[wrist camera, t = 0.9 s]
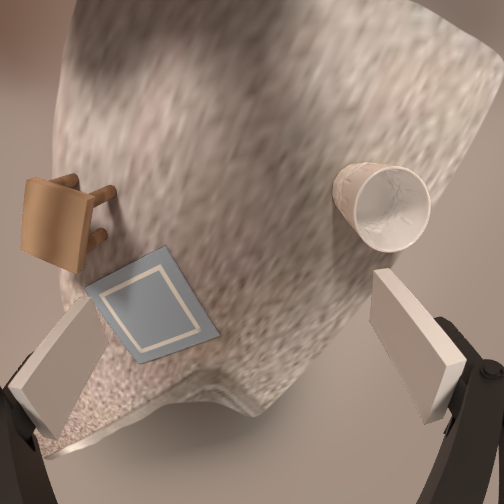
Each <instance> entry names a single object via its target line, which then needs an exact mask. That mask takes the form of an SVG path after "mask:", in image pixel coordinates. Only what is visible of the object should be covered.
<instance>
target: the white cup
mask: <svg viewBox="0 0 504 504" xmlns="http://www.w3.org/2000/svg"><path fill="white" fill-rule="evenodd" d="M332 196H333V199H334V202H335V205H336V207H337V208H338V209H339V210H340V212H341V213H342V215H343V217H344V218H345V219H346V220H347V222H348V223H349V224H350V226H351V227H352V228H353V229H354V230H355V231H356V233H357V234H358V235H359V236H360V237H361V238H362V240H363V241H364V242H365V243H366V244H367V245H368V246H370V247H371V248H373V249H375V250H377V251H381V252H387V253H391V252H398V251H401V250H404V249H406V248H407V247H409V246H411V245H412V244H413V243H414V242H415V241H417V239H418V238H419V237H420V236H421V235H422V233H423V232H424V230H425V228H426V226H427V223H428V220H429V217H430V210H431V203H430V196H429V192H428V190H427V187H426V185H425V184H424V182H423V181H422V179H421V178H420V177H419V176H418V175H417V174H416V173H414V172H413V171H411V170H409V169H407V168H404V167H399V166H393V165H386V164H379V163H364V162H361V163H353V164H349V165H348V166H346V167H345V168H343V169H342V170H340V172H339V173H338V175H337V177H336V178H335V180H334V182H333V191H332Z"/></svg>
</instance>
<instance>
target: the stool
mask: <svg viewBox="0 0 504 504" xmlns="http://www.w3.org/2000/svg"><path fill="white" fill-rule="evenodd" d="M78 181H79V179H78V176H77V175H76V174H70V175H66V176H63V177H59V178H56V179H53V180H50V181H46V180H43V179H40V178H37V177H35V178H31V179H28V180H26V187H25V195H24V205H23V215H22V229H21V249H20V250H22V251H24V252H26V253H28V254H31V255H33V256H35V257H37V258H40V259H42V260H44V261H46V262H49V263H51V264H53V265H56V266H58V267H60V268H63V269H65V270H68V271H70V272H72V273H75V274H78V273H79V272H80V271H81V270H82V269H83V268H84V265H85V257H86V255H87V254H88V253H89V252H91V251H92V250H93V249H94V248H95V247H97V246H98V245H99V244H100V243H102V242H103V241H104V240H105V239H106V238H107V236H108V234H107V231H106V230H105V229H104V228H99V229H98V230H96V231H95V232H93V233H92V234H91V235H89V229H90V223H91V218H92V212H93V208H94V207H96V206H98V205H100V204H102V203H104V202H106V201H108V200H110V199H112V198H113V197H115V195H116V188H115V187H114V186H112V185H109V186H106V187H104V188H101V189H99V190H97V191H94V192H92V193H89V194H86V193H83V192H80V191H77V190H74V189H71V187H73V186H76V185H77V184H78Z"/></svg>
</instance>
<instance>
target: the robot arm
mask: <svg viewBox="0 0 504 504" xmlns="http://www.w3.org/2000/svg"><path fill="white" fill-rule="evenodd" d="M369 322H370V323H371V325H372V327H373V328H374V330H375V332H376V334H377V336H378V338H379V339H380V341H381V343H382V345H383V347H384V348H385V350H386V352H387V354H388V356H389V357H390V359H391V361H392V363H393V365H394V367H395V368H396V370H397V372H398V374H399V376H400V378H401V380H402V382H403V383H404V385H405V388H406V389H407V391H408V393H409V395H410V397H411V399H412V401H413V403H414V405H415V407H416V409H417V411H418V413H419V415H420V417H421V419H422V421H423V423H424V425H425V424H428V423H431V422H434V421H437V420H440V419H443V417H444V415H445V413H446V410H447V408H449V410H450V411H451V413H452V417H451V419H450V421H449V423H448V425H447V427H446V429H445V431H444V434H445V436H444V439H443V442H442V445H441V447H440V450H439V453H438V455H437V458H436V460H435V463H434V466H433V468H432V470H431V473H430V475H429V477H428V480H427V482H426V484H425V487H424V488H423V491H422V493H421V495H420V497H419V499H418V501H417V503H416V504H483V501H484V498H485V495H486V491H487V488H488V484H489V481H490V477H491V473H492V469H493V465H494V461H495V457H496V452H497V447H498V446H499V502H498V504H504V367H503V366H502V365H501V364H500V363H498V362H496V361H494V360H489V359H484V360H483V359H482V358H481V356H480V355H479V354H478V353H477V352H476V350H475V349H474V348H473V347H472V346H471V345H470V343H469V342H468V341H467V340H466V339H465V338H464V336H463V335H462V334H461V333H460V332H458V329H457V328H456V327H455V326H454V325H453V324H452V322H450V321H448V320H446V319H445V318H443V317H436V318H433V317H432V316H431V315H430V314H429V313H428V312H427V310H426V309H425V308H424V307H423V306H422V305H421V304H420V302H419V301H418V300H417V299H416V298H415V297H414V296H413V294H412V293H411V292H410V291H409V290H408V289H407V288H406V287H405V285H404V284H403V283H402V282H401V281H400V280H399V279H398V278H397V277H396V276H395V274H394V273H393V272H392V271H391V270H390V269H389V268H385V269H377V270H373V284H372V298H371V310H370V321H369ZM108 344H109V342H108V340H107V337H106V335H105V332H104V329H103V327H102V324H101V321H100V319H99V316H98V313H97V311H96V308H95V305H94V302H93V299H92V297H79V298H78V299H77V301H76V302H75V303H74V304H73V305H72V306H71V307H70V309H69V310H68V311H67V312H66V313H65V314H64V316H63V317H62V318H61V319H60V320H59V322H58V323H57V324H56V325H55V326H54V328H53V329H52V330H51V331H50V332H49V334H48V335H47V336H46V337H45V338H44V340H43V341H42V342H41V343H40V345H39V346H38V347H37V349H36V350H35V351H33V352H32V353H31V354H30V355H28V356H27V358H26V359H25V360H24V362H23V363H22V365H20V367H19V368H18V371H16V372H15V373H14V375H13V376H12V377H11V379H10V380H9V381H8V383H7V384H6V386H5V387H4V388H3V390H2V388H1V387H0V504H58V503H57V500H56V498H55V495H54V492H53V489H52V487H51V484H50V481H49V478H48V475H47V472H46V469H45V465H44V462H43V459H42V455H41V452H40V448H39V444H38V440H37V438H36V436H35V435H34V433H33V432H34V430H35V428H37V429H38V430H39V432H40V433H41V434H42V436H43V437H46V438H50V439H54V440H58V438H59V436H60V434H61V432H62V430H63V428H64V426H65V424H66V422H67V420H68V418H69V416H70V414H71V412H72V410H73V408H74V406H75V404H76V402H77V400H78V398H79V396H80V394H81V393H82V391H83V389H84V387H85V385H86V383H87V381H88V379H89V378H90V376H91V374H92V372H93V370H94V368H95V367H96V365H97V363H98V361H99V359H100V358H101V356H102V354H103V352H104V351H105V349H106V347H107V345H108Z"/></svg>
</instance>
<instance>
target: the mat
mask: <svg viewBox="0 0 504 504" xmlns="http://www.w3.org/2000/svg"><path fill="white" fill-rule="evenodd" d="M84 289H85V291H86V292H87V294H88V295H89V297H92V299H93V302H94V304H95V306H96V307H97V309H98V310H99V311H100V313H101V314H102V316H103V317H104V319H105V320H106V321H107V323H108V324H109V326H110V327H111V328H112V330H113V331H114V333H115V334H116V335H117V337H118V338H119V339H120V341H121V342H122V343H123V345H124V346H125V347H126V349H127V350H128V351H129V352H130V354H131V355H132V356H133V358H134V359H135V360H136V361H137V363H138V364H141V363H144V362H147V361H150V360H153V359H156V358H159V357H162V356H165V355H168V354H171V353H174V352H177V351H180V350H183V349H185V348H188V347H191V346H194V345H197V344H199V343H202V342H205V341H207V340H210V339H213V338H216V337H218V336H220V333H219V332H218V330H217V329H216V327H215V325H214V324H213V322H212V321H211V319H210V318H209V316H208V314H207V313H206V311H205V310H204V308H203V306H202V305H201V303H200V302H199V300H198V298H197V297H196V295H195V293H194V292H193V290H192V288H191V287H190V285H189V283H188V282H187V280H186V278H185V277H184V275H183V273H182V272H181V270H180V268H179V267H178V265H177V263H176V262H175V260H174V258H173V256H172V255H171V253H170V251H169V249H168V248H167V246H164V247H162V248H160V249H158V250H156V251H154V252H152V253H150V254H148V255H146V256H144V257H142V258H140V259H138V260H136V261H134V262H132V263H130V264H128V265H126V266H124V267H123V268H121V269H119V270H117V271H115V272H113V273H111V274H109V275H107V276H105V277H103V278H102V279H100V280H98V281H96V282H94V283H92V284H90V285H88V286H87V287H85V288H84Z"/></svg>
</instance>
